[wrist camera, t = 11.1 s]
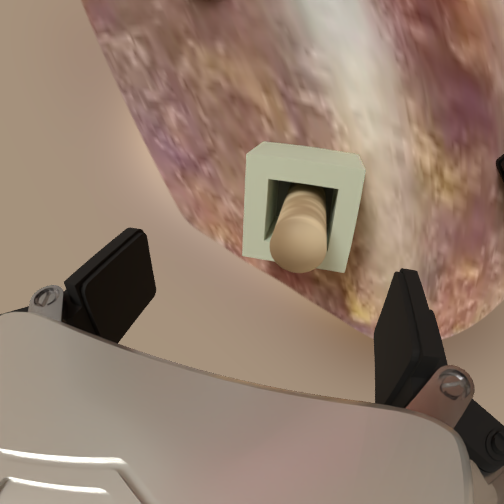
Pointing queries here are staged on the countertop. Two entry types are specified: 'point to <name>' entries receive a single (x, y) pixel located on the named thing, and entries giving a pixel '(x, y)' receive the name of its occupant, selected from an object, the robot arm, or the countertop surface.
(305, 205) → the peg
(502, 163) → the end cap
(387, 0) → the countertop surface
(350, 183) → the socket block
